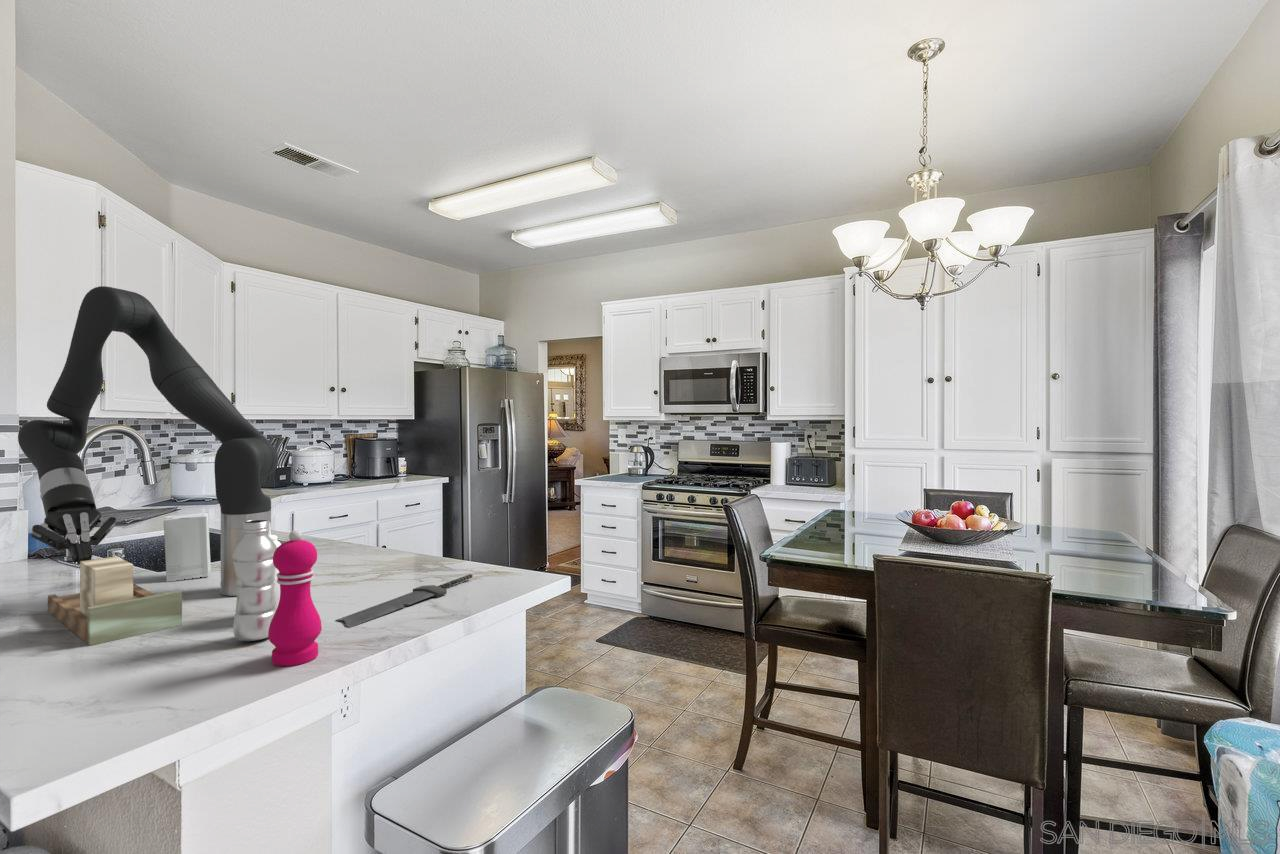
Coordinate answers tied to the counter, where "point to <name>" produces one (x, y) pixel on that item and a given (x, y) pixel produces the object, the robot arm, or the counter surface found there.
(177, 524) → the skincare box
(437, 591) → the toy broadsword
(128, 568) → the maple block
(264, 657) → the counter surface
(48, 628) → the counter surface
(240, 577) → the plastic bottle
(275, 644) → the pepper mill
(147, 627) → the trap deck
